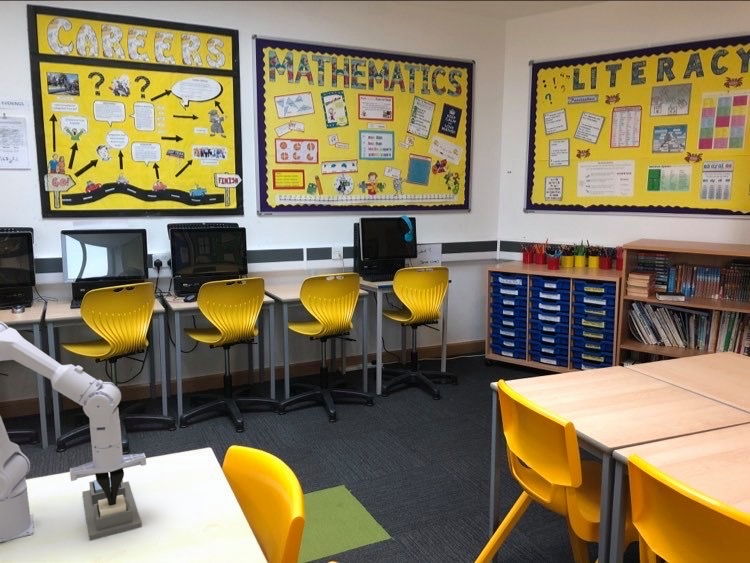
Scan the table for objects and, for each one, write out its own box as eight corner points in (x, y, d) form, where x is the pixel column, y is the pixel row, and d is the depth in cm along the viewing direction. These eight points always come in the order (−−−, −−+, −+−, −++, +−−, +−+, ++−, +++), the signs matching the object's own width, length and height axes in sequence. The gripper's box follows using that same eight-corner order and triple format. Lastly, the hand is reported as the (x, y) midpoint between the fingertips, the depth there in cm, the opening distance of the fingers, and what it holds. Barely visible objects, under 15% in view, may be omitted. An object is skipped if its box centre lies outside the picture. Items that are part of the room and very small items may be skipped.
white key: (100, 520, 128) (100, 511, 128) (98, 509, 132) (97, 500, 132) (126, 514, 130) (126, 505, 130) (123, 503, 135) (123, 494, 134)
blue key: (96, 498, 138) (95, 490, 137) (94, 488, 142) (93, 480, 142) (120, 492, 140) (119, 484, 140) (117, 483, 144) (117, 475, 144)
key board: (89, 540, 126) (88, 524, 125) (82, 495, 143) (81, 481, 142) (141, 526, 130) (140, 511, 130) (128, 485, 148) (127, 471, 147)
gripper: (140, 428, 135) (145, 486, 138) (66, 442, 129) (73, 503, 131) (145, 440, 129) (150, 500, 132) (68, 456, 123) (74, 519, 125)
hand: (112, 502), depth 131 cm, fingers closed, pressing on white key
